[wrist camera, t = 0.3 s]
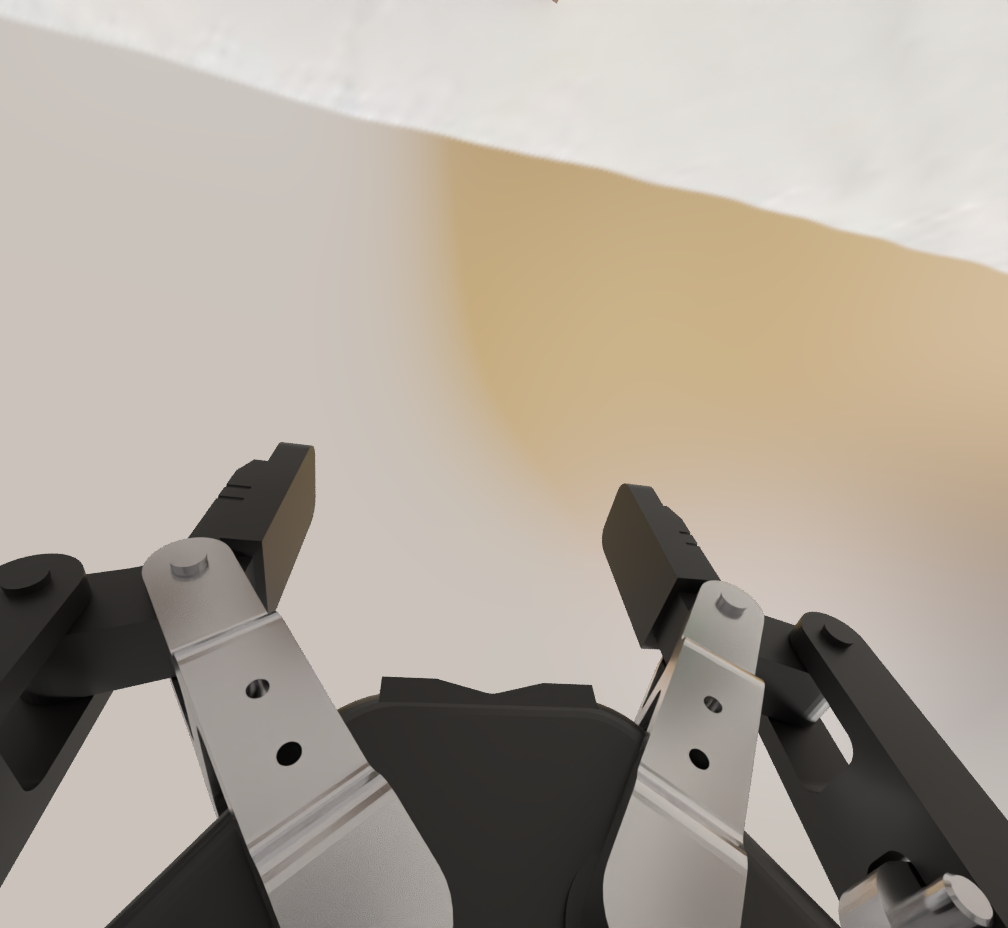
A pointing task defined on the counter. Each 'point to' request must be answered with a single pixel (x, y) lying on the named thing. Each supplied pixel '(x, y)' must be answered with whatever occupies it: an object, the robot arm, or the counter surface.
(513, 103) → the counter surface
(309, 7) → the counter surface
